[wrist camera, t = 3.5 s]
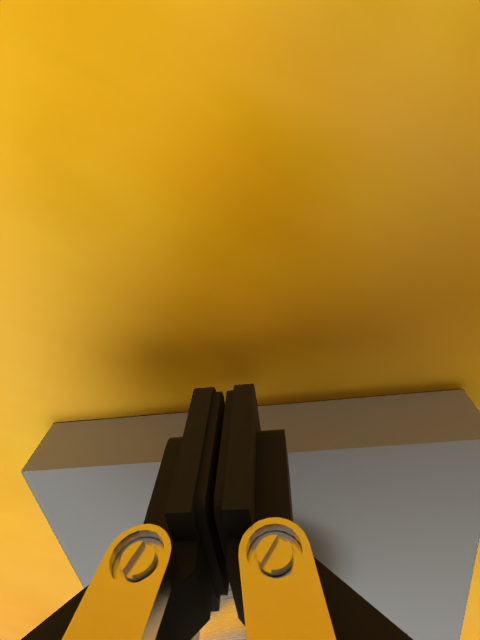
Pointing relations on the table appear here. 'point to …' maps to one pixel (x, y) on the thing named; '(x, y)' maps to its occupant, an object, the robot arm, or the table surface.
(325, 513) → the hole board
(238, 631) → the steel ball
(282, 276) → the table surface
